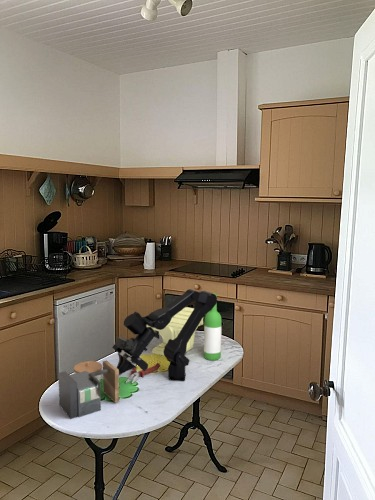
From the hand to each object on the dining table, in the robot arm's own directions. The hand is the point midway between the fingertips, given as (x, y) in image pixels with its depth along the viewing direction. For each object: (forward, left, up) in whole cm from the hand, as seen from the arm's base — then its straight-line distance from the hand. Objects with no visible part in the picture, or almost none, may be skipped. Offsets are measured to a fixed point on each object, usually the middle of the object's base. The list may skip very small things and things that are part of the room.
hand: (115, 375), depth 154 cm
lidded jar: (+13, -8, -8) cm, 17 cm away
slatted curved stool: (-17, -46, -8) cm, 49 cm away
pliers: (-4, -21, -9) cm, 23 cm away
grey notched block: (+10, +9, -8) cm, 16 cm away
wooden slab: (+3, +5, -8) cm, 9 cm away
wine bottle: (-35, -40, -8) cm, 54 cm away
